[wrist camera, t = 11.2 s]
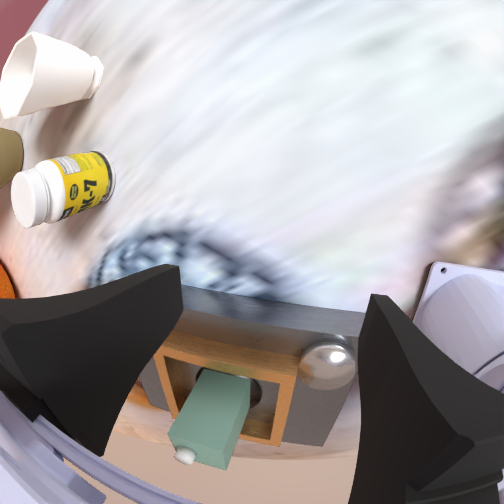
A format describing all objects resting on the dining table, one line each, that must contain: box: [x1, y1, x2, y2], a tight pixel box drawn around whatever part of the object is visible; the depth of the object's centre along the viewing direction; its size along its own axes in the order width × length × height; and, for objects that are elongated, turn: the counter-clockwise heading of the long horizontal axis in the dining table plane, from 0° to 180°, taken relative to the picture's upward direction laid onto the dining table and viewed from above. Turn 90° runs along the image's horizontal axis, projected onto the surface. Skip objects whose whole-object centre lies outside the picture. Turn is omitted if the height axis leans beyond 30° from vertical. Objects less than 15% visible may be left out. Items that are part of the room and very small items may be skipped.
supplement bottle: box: [11, 151, 115, 228], centre depth 17 cm, size 5×5×8 cm
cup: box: [0, 31, 103, 120], centre depth 14 cm, size 7×10×8 cm
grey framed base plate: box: [139, 285, 366, 447], centre depth 22 cm, size 20×16×5 cm
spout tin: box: [168, 369, 250, 470], centre depth 18 cm, size 4×4×8 cm
